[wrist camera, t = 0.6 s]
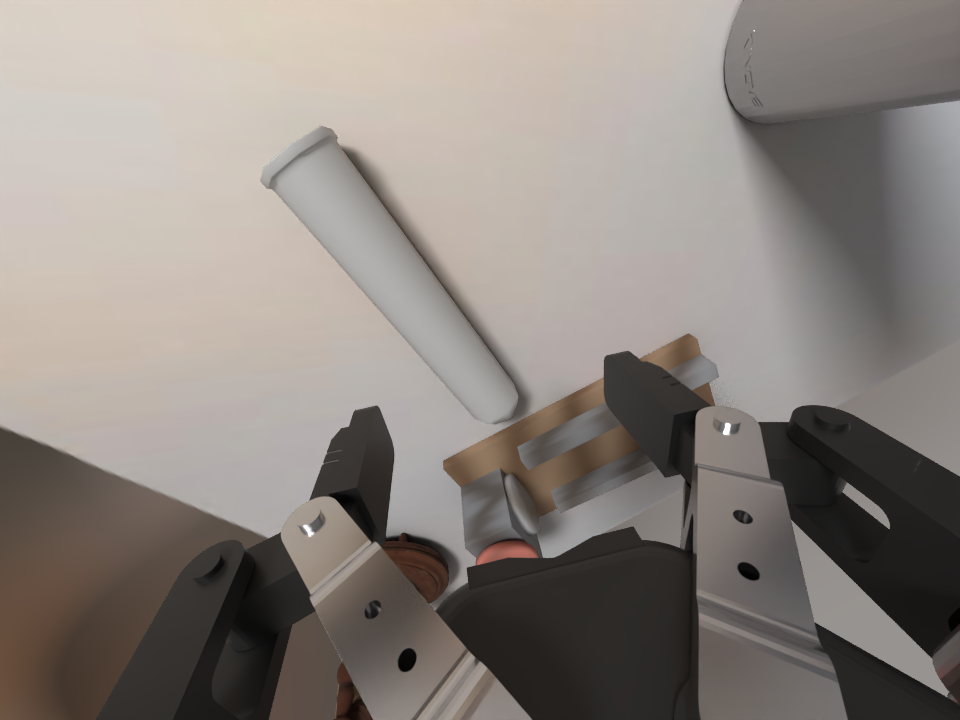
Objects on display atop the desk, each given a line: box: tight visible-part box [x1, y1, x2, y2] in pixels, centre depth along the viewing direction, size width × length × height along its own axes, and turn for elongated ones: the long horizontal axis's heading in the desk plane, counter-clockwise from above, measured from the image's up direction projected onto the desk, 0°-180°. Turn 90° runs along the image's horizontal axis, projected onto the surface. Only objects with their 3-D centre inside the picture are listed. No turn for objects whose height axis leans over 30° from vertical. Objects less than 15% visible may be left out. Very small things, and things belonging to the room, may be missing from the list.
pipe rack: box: [443, 334, 719, 565], centre depth 34 cm, size 28×14×10 cm, turn 121°
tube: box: [260, 126, 519, 424], centre depth 26 cm, size 5×5×25 cm
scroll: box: [334, 533, 449, 720], centre depth 37 cm, size 15×15×20 cm
